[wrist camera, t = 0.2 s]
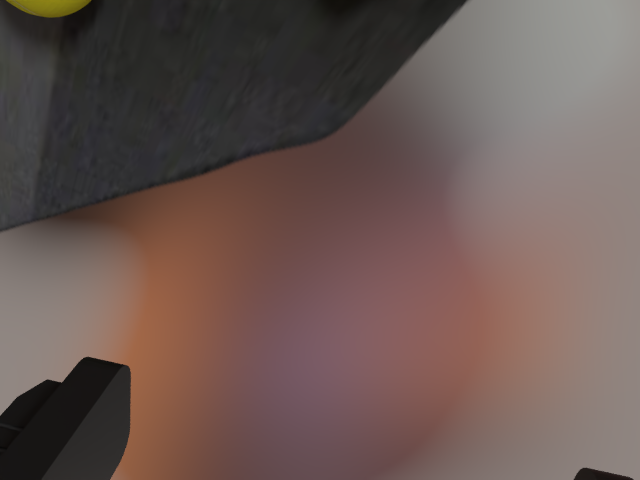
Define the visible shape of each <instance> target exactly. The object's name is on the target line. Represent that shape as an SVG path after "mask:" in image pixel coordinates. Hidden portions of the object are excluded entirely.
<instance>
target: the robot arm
mask: <svg viewBox="0 0 640 480" xmlns="http://www.w3.org/2000/svg"><path fill="white" fill-rule="evenodd" d="M130 383H131V372H130V368H129V367H128V366H127V365H123V364H118V363H114V362H109V361H105V360H100V359H96V358H91V357H85V358H83V359H82V360H81V361H80V362H79V363H78V364H77V365H76V366H75V368H74V369H73V370H72V371H71V373H70V374H69V375H68V376H67V377H66V378H65V380H64V381H63V382H62V383H61V382H56V381H52V380H45V381H44V382H42V383H40V384H39V385H37V386H35V387H34V388H32V389H30V390H29V391H27V392H25V393H23V394H22V395H20V396H19V397H17V398H16V399H15V400H14V401H13V402H12V404H11V405H10V406H9V407H8V408H7V409H6V410H5V411H4V412H3V413H2V415H1V416H0V480H110V479H111V477H112V475H113V473H114V472H115V470H116V468H117V466H118V465H119V463H120V461H121V459H122V456H123V454H124V451H125V448H126V445H127V442H128V437H129V432H130V386H131V385H130ZM574 480H633V479H632V478H630V477H626V476H622V475H617V474H612V473H608V472H603V471H598V470H594V469H589V468H582V469H581V470H580V471H579V472H578V473H577V475H576V476H575V479H574Z"/></svg>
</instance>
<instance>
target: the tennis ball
mask: <svg viewBox="0 0 640 480" xmlns="http://www.w3.org/2000/svg"><path fill="white" fill-rule="evenodd" d="M6 1H8V2H9V3H10V4H12V5H13V6H15V7H17V8H18V9H20V10H22V11H24V12H26V13H29V14H32V15H36V16H42V17H61V16H65V15H69V14H72V13H74V12H76V11H78V10H80V9H82V8H83V7H84V6H86V5H87V4H88V3H89V2H90V1H91V0H6Z"/></svg>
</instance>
